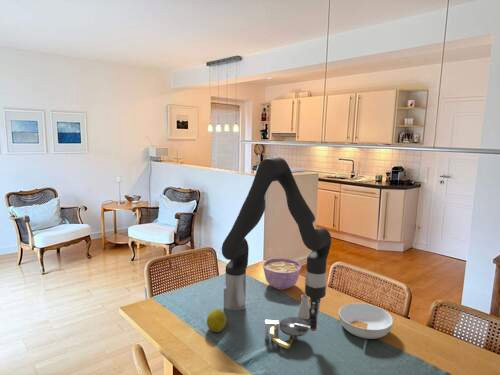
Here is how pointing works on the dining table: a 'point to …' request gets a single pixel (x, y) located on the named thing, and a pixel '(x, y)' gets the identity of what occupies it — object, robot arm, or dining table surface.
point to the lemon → (216, 320)
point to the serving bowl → (366, 320)
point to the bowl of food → (281, 272)
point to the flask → (304, 308)
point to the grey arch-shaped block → (271, 323)
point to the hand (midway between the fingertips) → (313, 325)
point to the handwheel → (291, 330)
